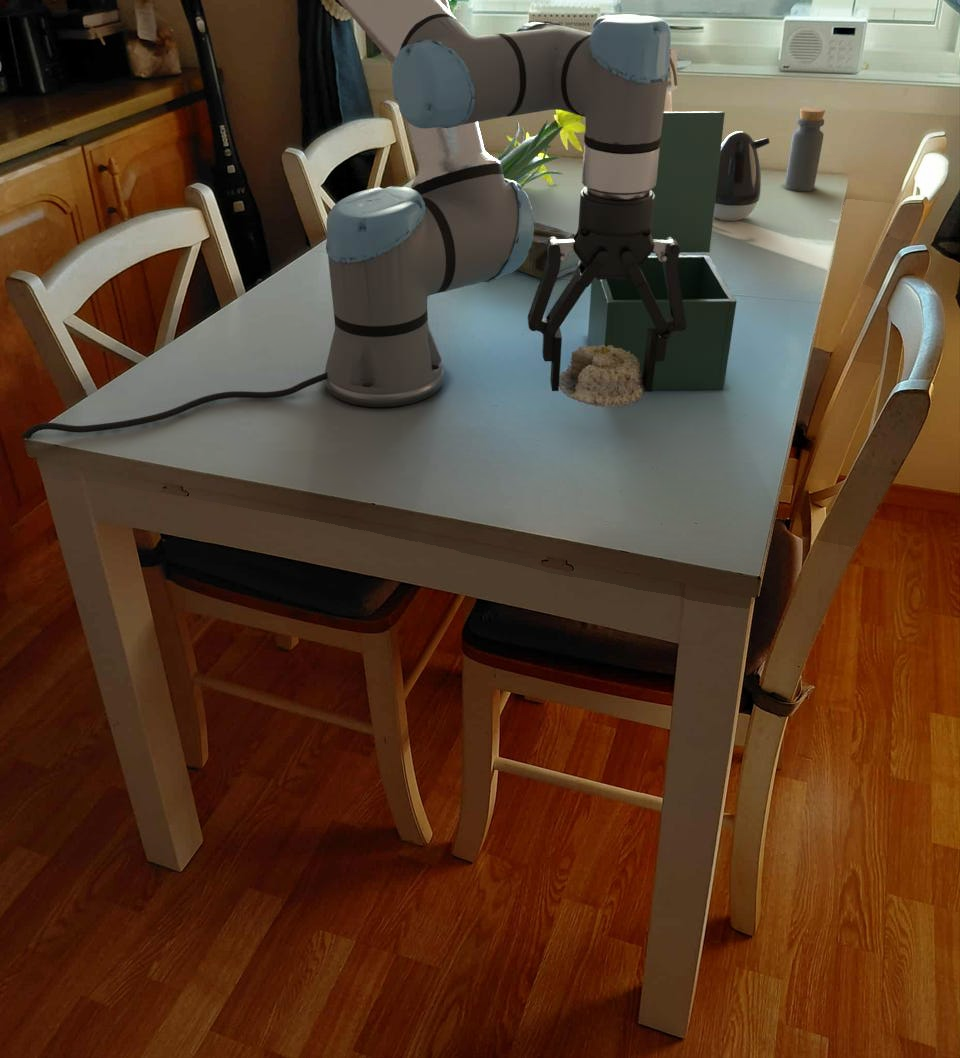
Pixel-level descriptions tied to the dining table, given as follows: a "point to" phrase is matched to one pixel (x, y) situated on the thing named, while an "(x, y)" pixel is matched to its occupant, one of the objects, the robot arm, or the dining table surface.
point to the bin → (707, 308)
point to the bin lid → (687, 179)
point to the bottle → (805, 150)
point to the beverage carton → (539, 251)
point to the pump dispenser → (738, 177)
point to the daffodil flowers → (539, 149)
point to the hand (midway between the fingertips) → (600, 385)
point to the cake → (602, 376)
